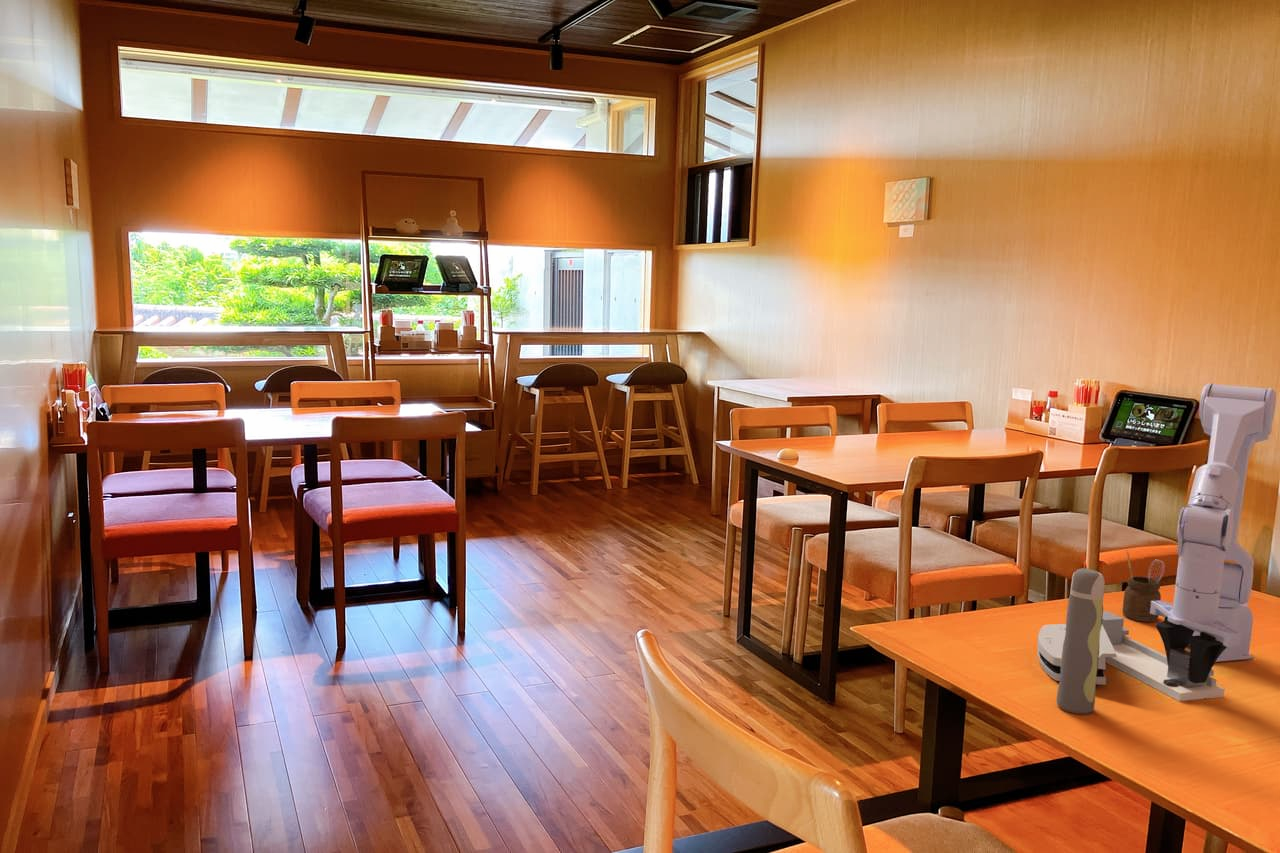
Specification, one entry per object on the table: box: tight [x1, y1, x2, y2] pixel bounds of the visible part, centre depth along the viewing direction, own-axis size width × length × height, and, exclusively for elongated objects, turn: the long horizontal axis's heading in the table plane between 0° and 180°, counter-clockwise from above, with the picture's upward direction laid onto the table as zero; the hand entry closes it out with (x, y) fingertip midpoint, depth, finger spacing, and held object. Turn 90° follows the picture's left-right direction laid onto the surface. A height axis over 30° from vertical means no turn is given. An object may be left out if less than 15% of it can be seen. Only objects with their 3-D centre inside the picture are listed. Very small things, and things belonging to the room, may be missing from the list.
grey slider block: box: [1164, 645, 1215, 687], centre depth 146 cm, size 4×7×5 cm, turn 106°
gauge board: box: [1102, 610, 1226, 702], centre depth 153 cm, size 22×8×6 cm, turn 16°
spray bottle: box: [1056, 567, 1106, 715], centre depth 137 cm, size 5×5×20 cm
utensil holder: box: [1122, 549, 1166, 623], centre depth 178 cm, size 6×6×12 cm
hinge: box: [1036, 623, 1116, 686], centre depth 153 cm, size 17×5×10 cm
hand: (1186, 676), depth 146 cm, fingers closed on grey slider block, 4 cm apart
